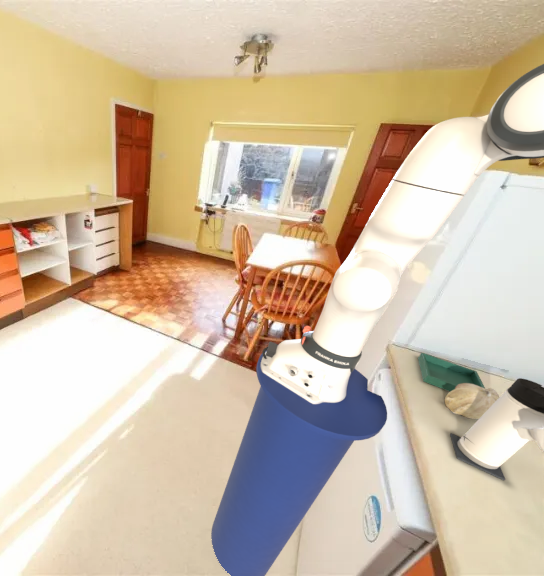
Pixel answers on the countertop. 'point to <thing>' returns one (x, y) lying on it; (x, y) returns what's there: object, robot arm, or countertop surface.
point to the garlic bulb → (470, 400)
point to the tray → (446, 373)
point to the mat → (462, 457)
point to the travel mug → (504, 425)
